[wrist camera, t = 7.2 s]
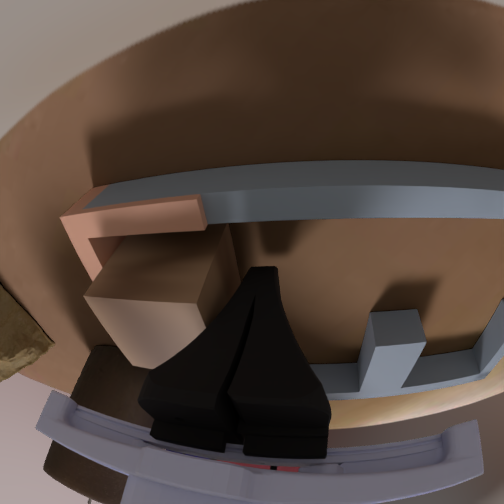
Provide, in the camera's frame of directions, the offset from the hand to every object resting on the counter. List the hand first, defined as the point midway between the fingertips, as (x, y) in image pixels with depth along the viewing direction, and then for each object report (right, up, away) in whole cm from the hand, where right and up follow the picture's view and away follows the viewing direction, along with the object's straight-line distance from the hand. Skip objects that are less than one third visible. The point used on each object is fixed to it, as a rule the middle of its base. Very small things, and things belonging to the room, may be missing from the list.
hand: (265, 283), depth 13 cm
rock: (-26, -4, +10) cm, 28 cm away
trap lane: (+6, -1, +2) cm, 6 cm away
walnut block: (-4, +1, +2) cm, 4 cm away
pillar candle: (-12, -10, +12) cm, 20 cm away
